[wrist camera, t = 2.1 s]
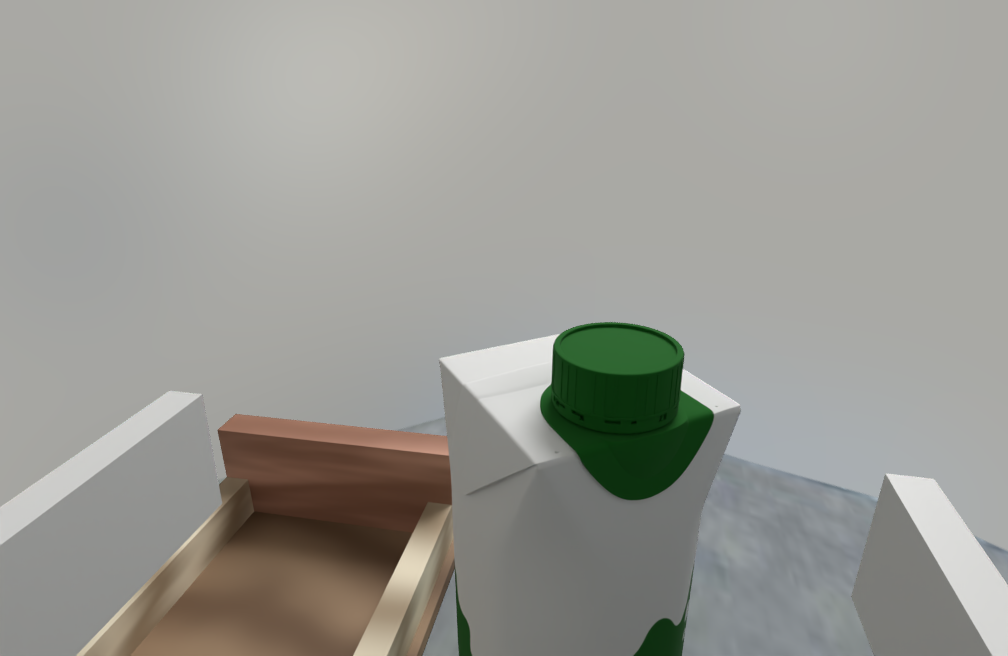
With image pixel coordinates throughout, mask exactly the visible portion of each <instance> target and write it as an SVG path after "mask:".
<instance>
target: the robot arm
mask: <svg viewBox="0 0 1008 656" xmlns="http://www.w3.org/2000/svg"><path fill="white" fill-rule="evenodd" d="M221 504H222V499H221V494H220V489H219V483H218V478H217V473H216V467H215V461H214V456H213V450H212V445H211V439H210V434H209V428H208V423H207V417H206V412H205V406H204V401H203V395H202V394H194V393H186V392H177V391H168V392H167V393H166V394H164V395H163V396H161V397H160V398H158V399H157V400H155V401H154V402H152V403H151V404H149V405H148V406H147V407H145V408H144V409H143V410H141V411H139V412H138V413H136V414H135V415H134V416H132V417H131V418H129V419H128V420H126V421H125V422H123V423H122V424H120V425H119V426H117V427H116V428H115V429H113V430H112V431H110V432H109V433H107V434H106V435H104V436H103V437H101V438H100V439H99V440H97V441H96V442H95V443H93V444H92V445H90V446H88V447H87V448H86V449H84V450H83V451H81V452H80V453H78V454H77V455H76V456H74V457H72V458H71V459H69V460H68V461H67V462H65V463H64V464H62V465H61V466H59V467H58V468H56V469H55V470H54V471H52V472H51V473H49V474H48V475H46V476H45V477H43V478H42V479H41V480H39V481H38V482H36V483H35V484H33V485H32V486H30V487H29V488H27V489H26V490H24V491H23V492H21V493H20V494H19V495H17V496H16V497H14V498H13V499H11V500H10V501H9V502H7V503H5V504H4V505H3V506H1V507H0V656H76V655H77V654H78V653H79V652H80V651H81V650H82V649H83V648H84V647H85V646H86V645H87V644H88V643H89V642H90V640H91V639H92V638H93V637H94V636H95V635H96V634H97V633H98V632H99V631H100V630H101V629H102V628H103V627H104V626H105V625H106V624H107V623H108V622H109V621H110V620H111V619H112V618H113V617H114V616H115V615H116V613H117V612H118V611H119V610H120V609H121V608H122V607H123V606H124V605H125V604H126V603H127V602H128V601H129V600H130V599H131V598H132V597H133V596H134V595H135V594H136V593H137V592H138V591H139V590H140V589H141V587H142V586H143V585H144V584H145V583H146V582H147V581H148V580H149V579H150V578H151V577H152V576H153V575H154V574H155V573H156V572H157V571H158V570H159V569H160V568H161V567H162V566H163V565H164V564H165V563H166V561H167V560H168V559H169V558H170V557H171V556H172V555H173V554H174V553H175V552H176V551H177V550H178V549H179V548H180V547H181V546H182V545H183V544H184V543H185V542H186V541H187V540H188V539H189V538H190V537H191V535H192V534H193V533H194V532H195V531H196V530H197V529H198V528H199V527H200V526H201V525H202V524H203V523H204V522H205V521H206V520H207V519H208V518H209V517H210V516H211V515H212V514H213V513H214V512H215V511H216V509H217V508H218V507H219V506H220V505H221ZM851 597H852V600H853V602H854V605H855V607H856V610H857V613H858V615H859V618H860V620H861V623H862V625H863V628H864V631H865V633H866V636H867V638H868V641H869V644H870V646H871V649H872V651H873V654H874V656H1008V585H1007V583H1006V582H1005V580H1004V579H1003V577H1002V576H1001V574H1000V573H999V572H998V570H997V569H996V567H995V566H994V564H993V563H992V562H991V560H990V559H989V557H988V556H987V554H986V553H985V551H984V550H983V549H982V547H981V546H980V544H979V543H978V541H977V540H976V539H975V537H974V536H973V534H972V533H971V531H970V530H969V528H968V527H967V526H966V524H965V523H964V521H963V520H962V518H961V517H960V516H959V514H958V513H957V511H956V510H955V508H954V507H953V505H952V504H951V503H950V501H949V500H948V498H947V497H946V495H945V494H944V493H943V491H942V490H941V488H940V487H939V485H938V484H937V483H936V481H935V480H934V479H929V478H920V477H912V476H903V475H894V474H885V477H884V480H883V484H882V488H881V491H880V495H879V498H878V502H877V506H876V509H875V513H874V516H873V520H872V524H871V527H870V531H869V534H868V538H867V542H866V545H865V549H864V552H863V556H862V560H861V563H860V567H859V570H858V574H857V578H856V581H855V585H854V589H853V592H852V596H851Z"/></svg>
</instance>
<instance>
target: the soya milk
mask: <svg viewBox="0 0 1008 656" xmlns="http://www.w3.org/2000/svg"><path fill="white" fill-rule="evenodd" d="M683 362H684V351H683V348H682V346H681V345H680V344H679V343H678V342H677V341H676V340H675V339H674V338H672V337H671V336H669V335H667V334H665V333H663V332H660V331H658V330H655V329H652V328H649V327H645V326H640V325H635V324H628V323H615V322H614V323H613V322H605V323H591V324H585V325H580V326H576V327H573V328H571V329H568V330H566V331H564V332H563V333H561V334H558V335H553V336H548V337H543V338H538V339H533V340H528V341H523V342H519V343H513V344H508V345H503V346H498V347H493V348H488V349H483V350H478V351H473V352H469V353H463V354H458V355H453V356H448V357H444V358H440V359H439V363H440V368H441V378H442V388H443V397H444V409H445V419H446V429H447V439H448V449H449V460H450V471H451V485H452V515H453V537H454V559H455V582H456V604H457V626H458V645H459V656H682V650H683V642H684V635H685V628H686V620H687V613H688V606H689V598H690V591H691V584H692V577H693V569H694V562H695V555H696V548H697V541H698V533H699V526H700V519H701V513H702V509H703V506H704V503H705V500H706V498H707V495H708V492H709V490H710V487H711V485H712V482H713V480H714V477H715V475H716V472H717V470H718V467H719V465H720V462H721V460H722V457H723V455H724V452H725V450H726V447H727V445H728V442H729V440H730V437H731V435H732V432H733V430H734V427H735V425H736V422H737V420H738V417H739V415H740V412H741V408H740V405H739V404H738V403H736V402H735V401H733V400H732V399H730V398H729V397H727V396H726V395H724V394H722V393H721V392H719V391H717V390H716V389H714V388H713V387H711V386H710V385H708V384H706V383H705V382H703V381H701V380H700V379H698V378H697V377H695V376H693V375H692V374H690V373H689V372H687V371H686V370H684V369H683Z"/></svg>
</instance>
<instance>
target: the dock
mask: <svg viewBox="0 0 1008 656" xmlns="http://www.w3.org/2000/svg"><path fill="white" fill-rule="evenodd" d="M218 434H219V440H220V444H221V449H222V454H223V460H224V464H225V469H226V474H227V477H226V478H225V479H224V480H223V481H222V482H221V483H220V484H219V489H220V494H221V499H222V504H221V505H220V506H219V507H218V508H217V509H216V511H215V512H214V513H213V514H212V515H211V516H210V517H209V518H208V519H207V520H206V521H205V522H204V523H203V524H202V525H201V526H200V527H199V528H198V529H197V530H196V531H195V532H194V533H193V534H192V535H191V537H190V538H189V539H188V540H187V541H186V542H185V543H184V544H183V545H182V546H181V547H180V548H179V549H178V550H177V551H176V552H175V553H174V554H173V555H172V556H171V557H170V558H169V559H168V560H167V561H166V563H165V564H164V565H163V566H162V567H161V568H160V569H159V570H158V571H157V572H156V573H155V574H154V575H153V576H152V577H151V578H150V579H149V580H148V581H147V582H146V583H145V584H144V585H143V586H142V587H141V589H140V590H139V591H138V592H137V593H136V594H135V595H134V596H133V597H132V598H131V599H130V600H129V601H128V602H127V603H126V604H125V605H124V606H123V607H122V608H121V609H120V610H119V611H118V612H117V613H116V615H115V616H114V617H113V618H112V619H111V620H110V621H109V622H108V623H107V624H106V625H105V626H104V627H103V628H102V629H101V630H100V631H99V632H98V633H97V634H96V635H95V636H94V637H93V638H92V639H91V640H90V642H89V643H88V644H87V645H86V646H85V647H84V648H83V649H82V650H81V651H80V652H79V653H78V654H77V655H76V656H422V654H423V652H424V649H425V646H426V644H427V641H428V638H429V636H430V633H431V630H432V628H433V625H434V622H435V620H436V617H437V614H438V612H439V609H440V606H441V603H442V601H443V598H444V595H445V593H446V590H447V587H448V585H449V582H450V579H451V577H452V574H453V571H454V569H455V559H454V537H453V515H452V485H451V471H450V460H449V449H448V439H447V436H440V435H430V434H421V433H411V432H402V431H392V430H383V429H373V428H363V427H354V426H345V425H335V424H326V423H316V422H306V421H297V420H287V419H277V418H269V417H259V416H250V415H240V414H235V415H234V416H233V417H232V418H231V419H229V420H228V421H227V422H226V423H225V424H224V425H223V426H222V427H220V428H219V429H218Z"/></svg>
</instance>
